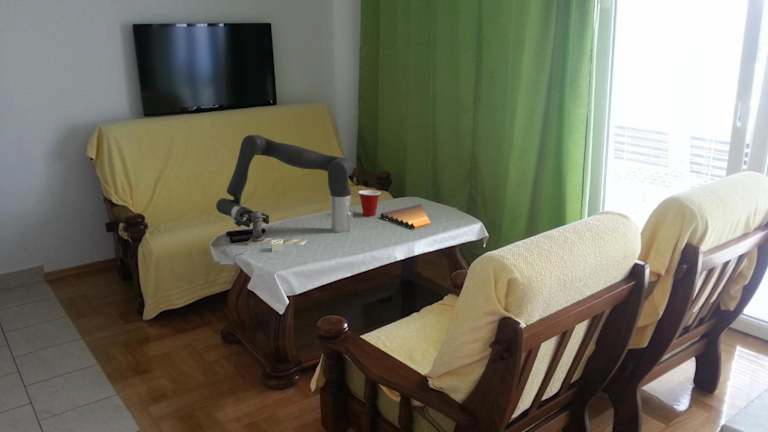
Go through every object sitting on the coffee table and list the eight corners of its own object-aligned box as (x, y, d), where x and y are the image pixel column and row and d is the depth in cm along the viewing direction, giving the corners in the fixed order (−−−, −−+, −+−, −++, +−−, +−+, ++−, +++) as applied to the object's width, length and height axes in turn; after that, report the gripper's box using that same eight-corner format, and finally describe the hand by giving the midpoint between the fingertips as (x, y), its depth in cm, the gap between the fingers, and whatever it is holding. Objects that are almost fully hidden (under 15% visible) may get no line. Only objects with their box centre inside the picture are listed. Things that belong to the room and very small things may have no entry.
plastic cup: (384, 214, 304) (384, 190, 300) (372, 219, 295) (372, 195, 292) (366, 210, 309) (366, 187, 306) (354, 216, 301) (354, 192, 297)
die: (283, 249, 254) (282, 239, 252) (283, 253, 250) (283, 242, 248) (272, 250, 253) (271, 240, 252) (272, 254, 249) (271, 243, 247)
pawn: (265, 238, 264) (263, 209, 260) (261, 242, 259) (259, 213, 256) (254, 237, 265) (252, 209, 261) (250, 241, 260) (248, 212, 256)
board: (310, 242, 263) (310, 239, 263) (305, 248, 255) (305, 245, 255) (252, 239, 267) (252, 236, 266) (245, 245, 259) (245, 242, 259)
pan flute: (418, 209, 313) (380, 218, 298) (418, 203, 312) (380, 212, 297) (453, 220, 295) (414, 231, 280) (453, 214, 294) (414, 223, 279)
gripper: (226, 209, 266) (242, 217, 253) (257, 204, 274) (273, 212, 261) (228, 225, 268) (243, 235, 255) (258, 220, 276) (274, 229, 264)
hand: (258, 223), depth 258 cm, fingers open, 8 cm apart
